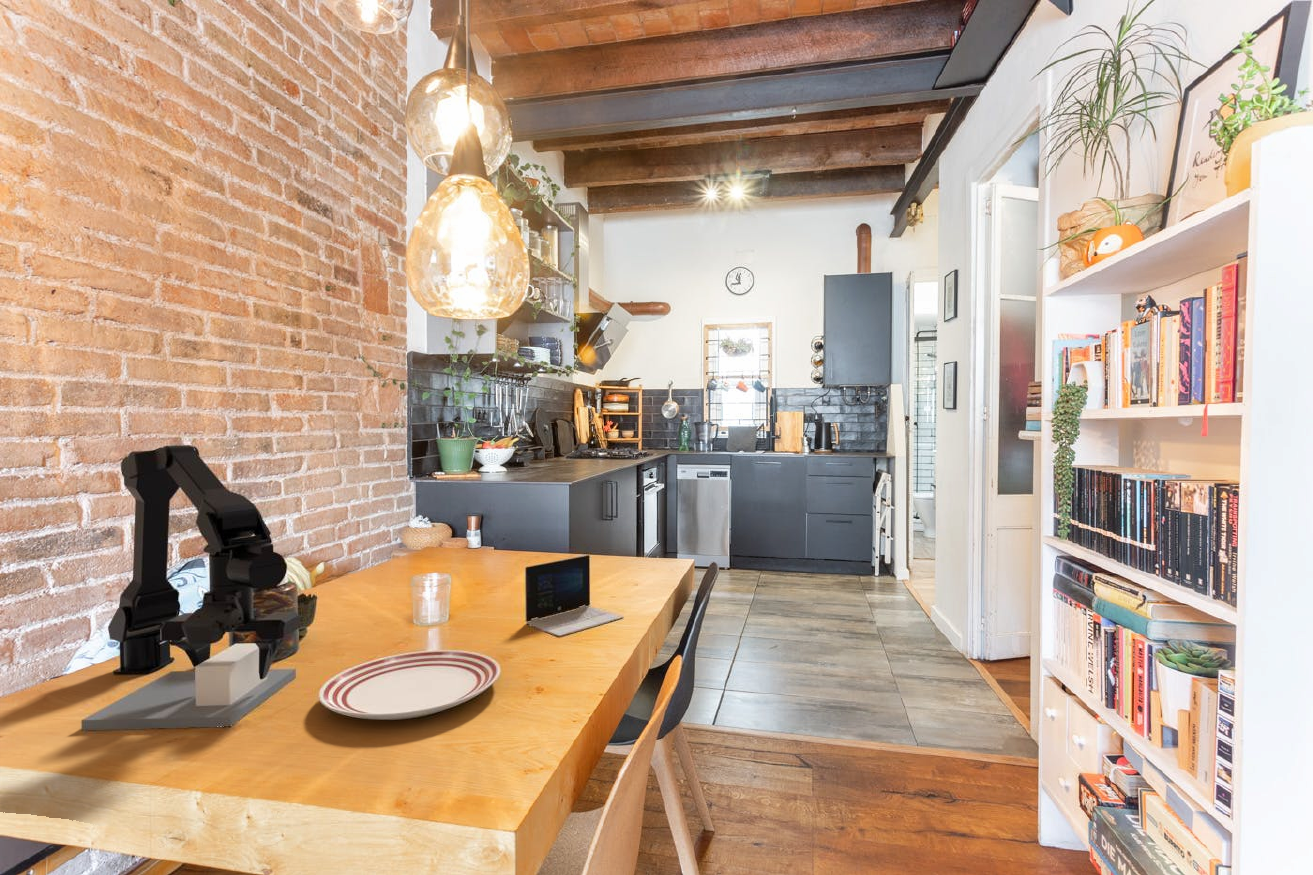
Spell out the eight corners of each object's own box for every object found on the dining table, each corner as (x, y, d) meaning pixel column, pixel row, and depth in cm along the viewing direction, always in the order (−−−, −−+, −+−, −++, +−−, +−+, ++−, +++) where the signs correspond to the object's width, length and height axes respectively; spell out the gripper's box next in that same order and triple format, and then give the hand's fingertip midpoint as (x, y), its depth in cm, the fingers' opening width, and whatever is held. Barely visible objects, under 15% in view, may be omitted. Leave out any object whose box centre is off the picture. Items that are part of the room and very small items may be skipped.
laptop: (559, 639, 131) (558, 576, 130) (525, 625, 139) (524, 566, 139) (624, 619, 143) (623, 562, 143) (589, 608, 152) (588, 554, 152)
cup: (286, 644, 127) (285, 605, 127) (270, 637, 131) (269, 599, 131) (324, 634, 133) (323, 596, 133) (308, 628, 137) (307, 591, 137)
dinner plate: (331, 676, 111) (330, 657, 111) (491, 655, 121) (490, 638, 121) (305, 752, 86) (304, 728, 86) (510, 718, 95) (510, 696, 95)
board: (81, 730, 92) (81, 720, 92) (171, 679, 110) (171, 671, 110) (230, 726, 93) (230, 716, 93) (295, 677, 111) (295, 668, 110)
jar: (314, 646, 126) (312, 571, 126) (263, 668, 115) (261, 585, 114) (266, 641, 129) (265, 567, 129) (212, 661, 118) (210, 581, 118)
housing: (195, 705, 96) (195, 666, 96) (236, 679, 106) (235, 643, 106) (229, 705, 96) (229, 665, 96) (267, 678, 106) (266, 643, 106)
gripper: (131, 596, 92) (133, 702, 93) (262, 594, 93) (264, 699, 94) (184, 577, 104) (186, 672, 104) (301, 576, 104) (303, 670, 105)
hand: (233, 679), depth 101 cm, fingers open, 9 cm apart
